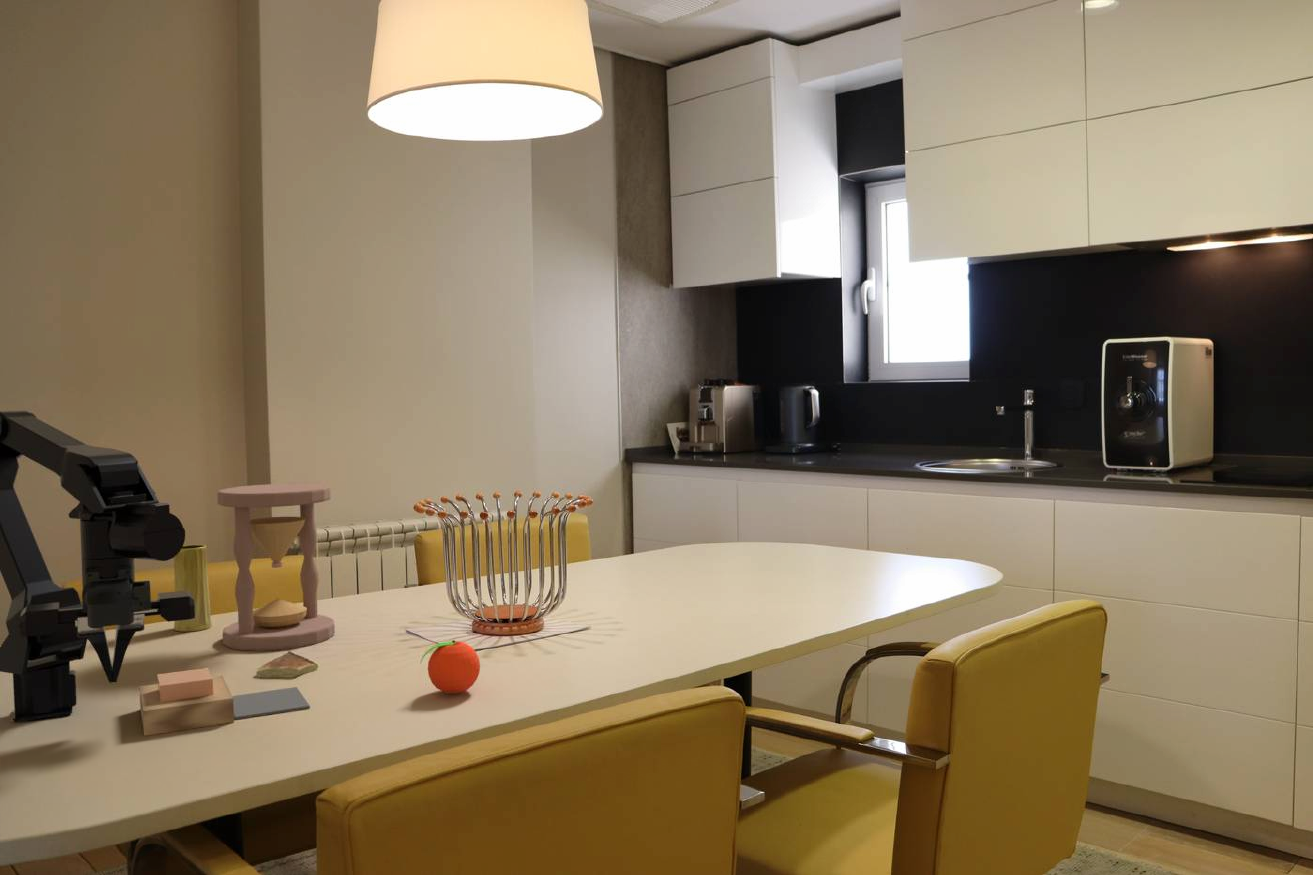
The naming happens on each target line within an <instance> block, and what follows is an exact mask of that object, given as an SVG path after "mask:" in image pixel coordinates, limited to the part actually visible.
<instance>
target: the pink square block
mask: <svg viewBox="0 0 1313 875" xmlns="http://www.w3.org/2000/svg"><path fill="white" fill-rule="evenodd" d="M156 675H157V676H156V677H157V678H156V679H157V684H158V693H159V697H160V702H164V701H171V700H178V699H185V698H192V697H199V696H206V695H213V678H212V677H213V676H212V674H211V671H210V669H209V668H208V667H206V668H205V667H204V668H196V669H191V670H183V671H174V672H166V673H158V674H156Z"/></svg>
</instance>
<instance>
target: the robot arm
mask: <svg viewBox="0 0 1313 875" xmlns="http://www.w3.org/2000/svg"><path fill="white" fill-rule="evenodd" d="M22 456H25V457H26V458H27V459H30V460H31V461H33V462H35V463H36V464H38V465H40V466H43V467H44V468H45V469H47V470H49V471H51V472H53V473H55V474H56V475H57V476H58V477H59V480H60V486H61V487H62V489H63V490H64V491H66V492H67V493H68V494H69V495H70V496H71V497H72V498H74V499H75V500H76V501H78V502H79V503H78V505H76V506H75V507H74V508H73V509H71V510H70V512H69V513H68V518H69V519H72V520H76V519H77V520H79V528H80V529H79V530H80V531H79V532H80V554H81V555H80V556H81V576H82V577H81V578H82V580H81V581H82V591H81V599H80V596H79V592H78V591H77V589H75V588H74V587H65V588H62V587H60V585H57V584H56V583H55V582H54V580H53V578H52V575H51V572H50V570H49V569H48V566H47V563H46V562H45V559H44V556H43V554H42V552H41V548H40V547H39V544H38V542H37V540H36V537H35V536H34V533H33V530H32V528H31V525H30V523H29V521H28V518H27V516H26V514H25V511H24V509H23V506H22V504H21V501H20V499H19V497H18V494H17V491H16V489H15V486H14V485H15V481H16V478H17V475H18V471H19V469H20V464H19V461H18V460H19V459H20V458H21V457H22ZM185 541H186V529H185V528H184V526H183V524H182V522H181V520H180V518H178V517H177V516H176V515H175V514H173V513H171V512H170V504H169V503H168V502H160V501H159V500H158V498H157V495H156V491H155V490H154V488H153V487H152V486H151V484H150V483H149V481H148V480H147V477H146V475H145V474H144V472H143V470H142V469H141V466H140V465H139V461H138V459H137V458H136V457H135V456H134V455H133V454H131V453H129V452H126V451H122V450H119V449H115V448H110V447H101V446H93V445H89V444H86V443H84V442H82V441H80V440H78V439H77V438H74V437H73V436H71V435H69V434H67V433H65V432H64V431H62V430H59V429H57V428H56V427H54V426H52V425H50V424H48V423H47V422H45V421H43V420H42V419H39V418H37V416H36V415H35V414H34V413H33V412H29V411H28V410H0V574H1V577H2V578H3V581H4V583H5V586H6V587H7V591H8V594H9V595H10V599H11V602H10V606H9V610H8V613H7V617H6V620H5V625H6V629H7V632H8V634H7V636H6V638H5V639H4V641H3V642H2V644H1V645H0V672H1V673H6V674H7V673H8V674H12V683H13V684H12V685H13V686H12V689H13V705H14V706H13V707H14V709H13V710H14V712H13V715H12V716H13V717H12V722H14V723H17V722H24V721H32V720H38V719H39V720H40V719H45V718H46V719H47V718H53V717H59V716H66V715H71V714H73V709H74V708H73V707H76V706H77V702H78V701H77V700H78V698H77V678H76V677H77V675H76V671H75V670H74V669H72V670H71V662H73V661H78V660H83V659H84V656H85V652H86V646H87V642H89V643H90V644H91V646H92V648H93V649H94V651H95V653H96V655H97V657H98V659H99V661H100V663H101V666H102V669H103V671H104V673H105V677H106V679H107V681H108V683H109V684H114V683H117V681H118V678H119V675H120V672H121V669H122V666H123V665H122V664H123V662H124V659H125V655H126V653H127V652H126V651H127V650H128V647H129V645H130V644H131V641H132V640H133V637H134V635H135V634H136V632H142V631H145V623H144V620H146V618H145V617H151V616H159V615H160V617H161V618H162V619H164V620H165V621H166V622H175V621H179V620H189V619H193V618H195V604H194V599H193V597H192V595H191V594H190V593H189V592H188V591H187V590H186V591H175V590H174V591H167V592H158V593H157V600H156V599H155V600H152V597H151V595H152V594H151V581H150V580H140V581H138V580H137V581H136V575H135V574H136V573H135V559H137V560H148V561H159V562H166V561H167V562H168V561H169V560H171V559H174V557H175V556H176V555H177V554H178V553H179V552H180V551H181V549H182V547H183V545H185ZM111 626H113V627H114V626H116V627H115V636H114V648H113V658H112V661H111V655H110V650H109V643H108V638H107V633H106V628H105V627H111Z"/></svg>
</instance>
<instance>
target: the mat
mask: <svg viewBox="0 0 1313 875" xmlns="http://www.w3.org/2000/svg"><path fill="white" fill-rule="evenodd" d="M232 697H233V707H234V720H241V719H246V718H247V719H248V718H254V717H261V716H268V715H273V714H279V713H287V712H294V711H299V710H306V709H310V708H311V705H310V703H309V702H308V701H307V699H306V698H305V696H304V695H303V694H302V692H301V691H300V690H299V688H298V687H297V686H294V687H288V688H279V689H274V690H266V691H259V692H254V693H253V692H251V693H245V694H238V695H237V694H236V695H232Z"/></svg>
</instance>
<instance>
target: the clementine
mask: <svg viewBox="0 0 1313 875" xmlns="http://www.w3.org/2000/svg"><path fill="white" fill-rule="evenodd" d="M434 649H435V650H434ZM433 650H434V651H433ZM431 651H433V652H432V654H431V655H430V657H429V659H428V662H427V671H428V672H427V673H428V677H429V680H430V682H431V684H432V685H433V686H434V687H435V688H436V689H438V690H439V691H441V692H442V693H446V694H449V695H450V694H452V695H456V694H461V693H464V692H465V691H467V690H469V689H470V688H472V686H473V685H474V684H475V683H476V681H477V680H478V678H479V675H480V672H481V663H480V659H479V656H478V653H477V652H476V650H475V649H474V648H473V647H472V646H471V645H469V644H467V643H465V642H463V641H457V640H455V639H454V640H452V641H447V642H442V643H437V644H436V645H433V646H432V647H430V648H429V649H428V650H426V652H425V653H424V655H422V658H421V660H420V664H419V665H421V663H422V662H423V659H424V658H425V656H427V654H428V653H429V652H431Z"/></svg>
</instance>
